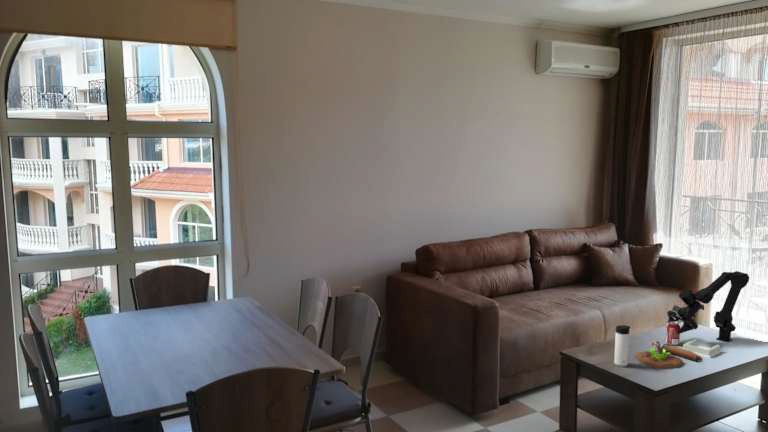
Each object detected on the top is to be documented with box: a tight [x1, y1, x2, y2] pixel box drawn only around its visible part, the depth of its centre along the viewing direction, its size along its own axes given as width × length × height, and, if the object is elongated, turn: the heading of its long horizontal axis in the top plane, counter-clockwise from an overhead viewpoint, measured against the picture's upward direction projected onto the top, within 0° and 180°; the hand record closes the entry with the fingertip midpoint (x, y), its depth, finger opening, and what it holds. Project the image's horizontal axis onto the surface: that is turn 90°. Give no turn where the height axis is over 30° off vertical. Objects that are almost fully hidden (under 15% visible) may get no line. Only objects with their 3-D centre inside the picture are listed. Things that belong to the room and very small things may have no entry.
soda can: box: [665, 321, 681, 347], centre depth 319 cm, size 7×7×12 cm
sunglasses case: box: [663, 345, 704, 363], centre depth 302 cm, size 18×7×7 cm
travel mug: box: [613, 324, 631, 368], centre depth 288 cm, size 6×7×20 cm
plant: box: [635, 340, 684, 370], centre depth 293 cm, size 20×20×11 cm
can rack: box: [681, 338, 722, 359], centre depth 308 cm, size 13×14×4 cm
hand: (671, 330), depth 318 cm, fingers open, 9 cm apart
